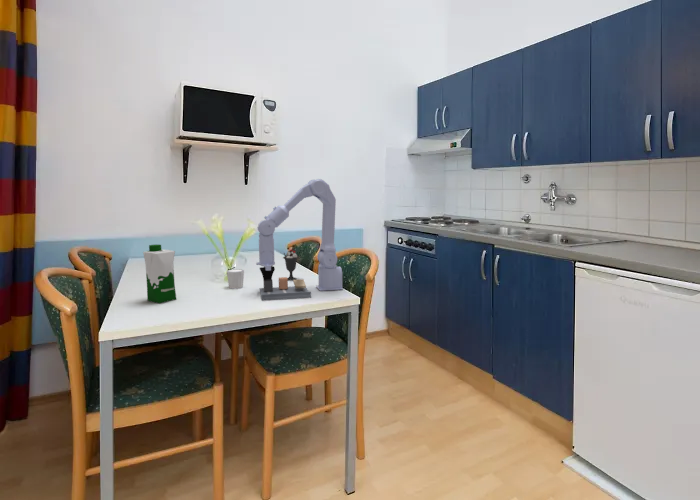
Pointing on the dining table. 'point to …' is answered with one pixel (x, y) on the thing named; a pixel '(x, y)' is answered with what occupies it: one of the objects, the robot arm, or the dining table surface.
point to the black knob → (268, 285)
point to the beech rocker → (299, 283)
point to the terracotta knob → (283, 283)
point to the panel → (284, 293)
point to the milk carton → (159, 274)
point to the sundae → (291, 262)
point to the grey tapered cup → (235, 278)
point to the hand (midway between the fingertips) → (267, 285)
